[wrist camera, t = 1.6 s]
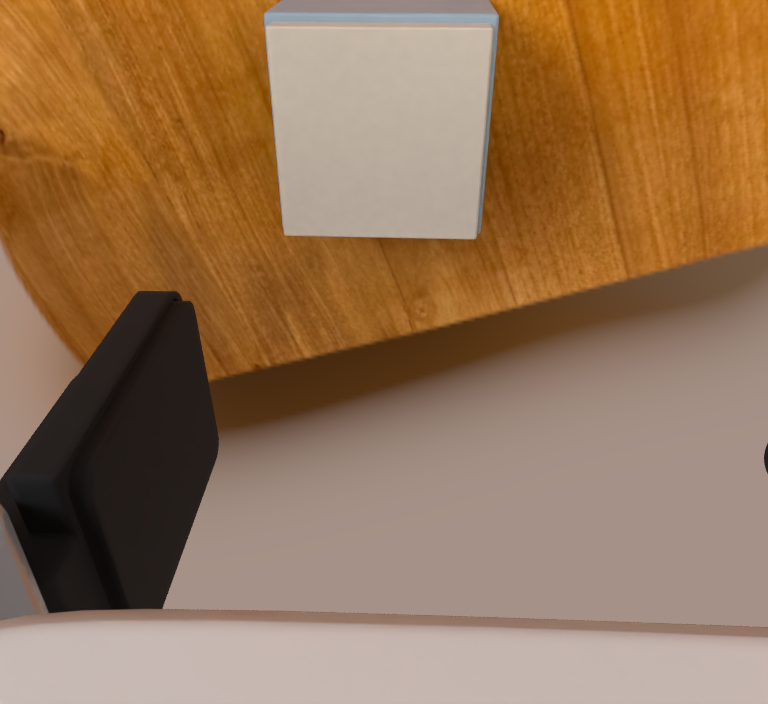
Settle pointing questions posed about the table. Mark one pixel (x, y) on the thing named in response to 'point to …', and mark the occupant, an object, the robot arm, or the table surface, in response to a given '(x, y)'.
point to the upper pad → (382, 115)
